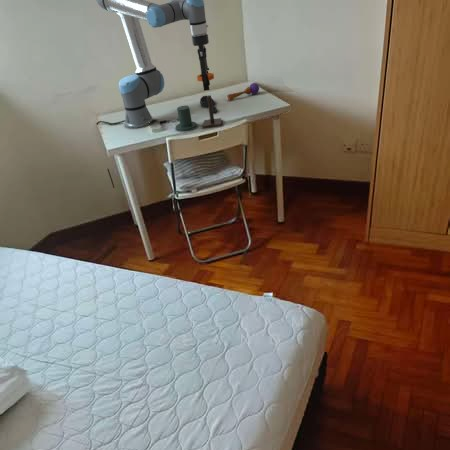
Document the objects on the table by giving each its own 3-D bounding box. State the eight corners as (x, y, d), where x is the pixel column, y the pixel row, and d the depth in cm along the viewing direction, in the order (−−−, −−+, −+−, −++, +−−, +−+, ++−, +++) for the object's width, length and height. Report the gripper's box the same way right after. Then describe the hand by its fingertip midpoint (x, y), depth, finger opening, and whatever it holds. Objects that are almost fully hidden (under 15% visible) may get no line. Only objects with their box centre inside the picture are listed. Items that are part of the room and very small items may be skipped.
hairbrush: (207, 109, 229) (197, 95, 246) (208, 116, 231) (198, 102, 249) (222, 106, 230) (211, 92, 247) (222, 113, 232) (211, 99, 250)
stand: (175, 132, 216) (171, 112, 209) (177, 125, 224) (173, 105, 218) (196, 129, 215) (193, 109, 209) (197, 122, 223) (194, 102, 217)
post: (204, 128, 216) (199, 99, 206) (204, 122, 222) (200, 94, 213) (221, 126, 215) (217, 97, 206) (221, 120, 222) (217, 92, 212)
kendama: (225, 92, 245) (255, 81, 249) (228, 102, 249) (257, 92, 252) (229, 92, 240) (259, 81, 244) (231, 103, 244) (261, 92, 247)
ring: (197, 82, 201) (196, 78, 200) (198, 77, 207) (197, 74, 206) (213, 80, 201) (213, 76, 200) (213, 75, 207) (213, 72, 206)
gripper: (206, 37, 184) (214, 92, 199) (208, 29, 199) (214, 81, 214) (190, 40, 184) (198, 94, 199) (192, 31, 200) (200, 83, 215)
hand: (207, 87), depth 207 cm, fingers closed on ring, 8 cm apart
